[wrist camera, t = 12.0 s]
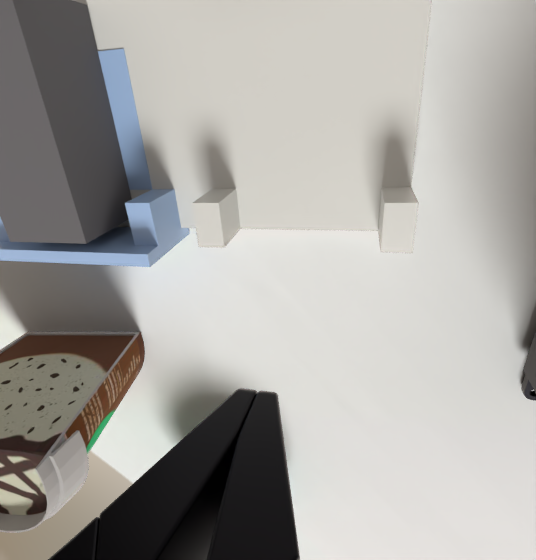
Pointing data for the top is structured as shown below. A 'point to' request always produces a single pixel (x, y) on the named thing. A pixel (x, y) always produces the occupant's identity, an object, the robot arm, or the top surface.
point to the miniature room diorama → (256, 121)
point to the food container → (56, 415)
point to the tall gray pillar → (56, 127)
